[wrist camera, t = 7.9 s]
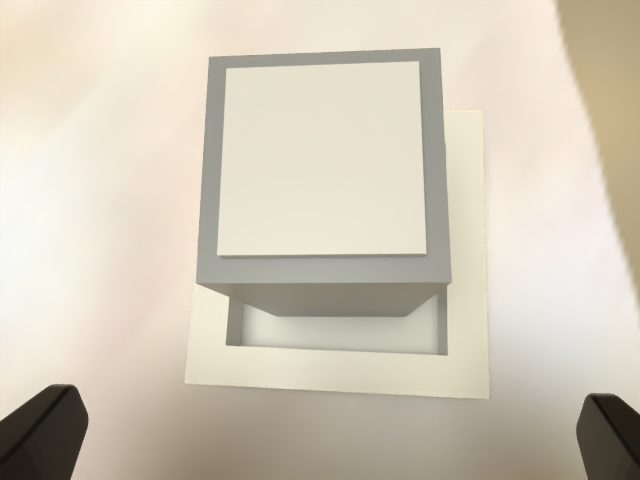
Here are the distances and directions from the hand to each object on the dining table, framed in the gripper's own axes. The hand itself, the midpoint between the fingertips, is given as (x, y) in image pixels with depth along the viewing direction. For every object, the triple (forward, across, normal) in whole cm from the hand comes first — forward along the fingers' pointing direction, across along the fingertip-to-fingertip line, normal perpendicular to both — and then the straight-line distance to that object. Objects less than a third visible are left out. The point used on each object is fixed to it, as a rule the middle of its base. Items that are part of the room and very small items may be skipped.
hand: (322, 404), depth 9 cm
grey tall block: (+9, 0, +3) cm, 9 cm away
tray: (+10, 0, +3) cm, 10 cm away
